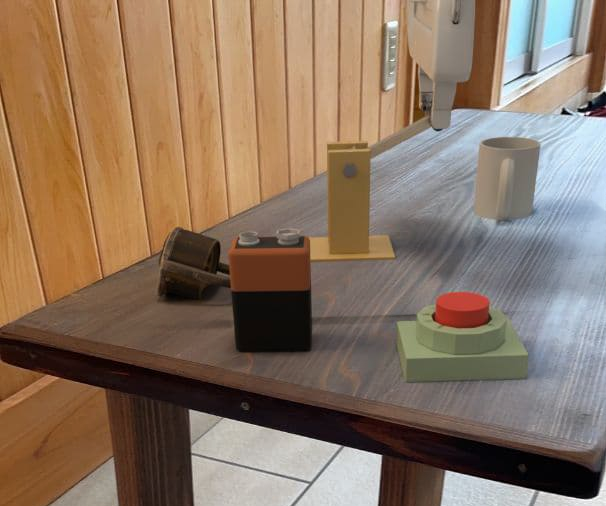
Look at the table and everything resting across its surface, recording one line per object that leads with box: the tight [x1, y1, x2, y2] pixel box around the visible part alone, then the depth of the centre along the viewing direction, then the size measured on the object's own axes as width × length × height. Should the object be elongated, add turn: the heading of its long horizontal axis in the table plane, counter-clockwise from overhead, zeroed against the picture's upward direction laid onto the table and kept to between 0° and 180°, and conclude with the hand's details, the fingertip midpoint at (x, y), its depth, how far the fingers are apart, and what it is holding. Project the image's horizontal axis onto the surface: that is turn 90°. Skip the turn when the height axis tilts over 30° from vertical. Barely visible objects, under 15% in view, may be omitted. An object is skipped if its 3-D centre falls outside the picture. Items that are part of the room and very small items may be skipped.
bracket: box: [308, 140, 396, 263], centre depth 94 cm, size 10×8×12 cm
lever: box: [349, 106, 444, 160], centre depth 90 cm, size 12×6×2 cm, turn 91°
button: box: [435, 291, 491, 329], centre depth 71 cm, size 4×4×2 cm
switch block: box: [395, 303, 530, 383], centre depth 73 cm, size 10×8×4 cm
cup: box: [473, 136, 542, 221], centre depth 104 cm, size 7×10×9 cm
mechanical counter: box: [154, 226, 231, 301], centre depth 85 cm, size 7×13×10 cm
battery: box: [228, 227, 313, 353], centre depth 75 cm, size 4×7×10 cm, turn 88°
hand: (433, 119), depth 89 cm, fingers open, 8 cm apart
